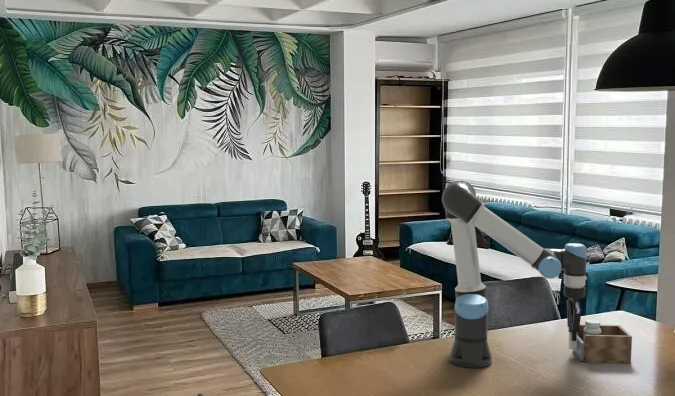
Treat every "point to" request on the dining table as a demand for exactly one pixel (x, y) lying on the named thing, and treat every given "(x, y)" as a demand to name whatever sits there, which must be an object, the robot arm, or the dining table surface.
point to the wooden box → (607, 345)
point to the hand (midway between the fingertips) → (572, 348)
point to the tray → (580, 349)
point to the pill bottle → (591, 328)
